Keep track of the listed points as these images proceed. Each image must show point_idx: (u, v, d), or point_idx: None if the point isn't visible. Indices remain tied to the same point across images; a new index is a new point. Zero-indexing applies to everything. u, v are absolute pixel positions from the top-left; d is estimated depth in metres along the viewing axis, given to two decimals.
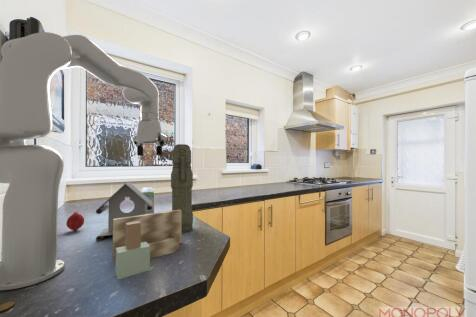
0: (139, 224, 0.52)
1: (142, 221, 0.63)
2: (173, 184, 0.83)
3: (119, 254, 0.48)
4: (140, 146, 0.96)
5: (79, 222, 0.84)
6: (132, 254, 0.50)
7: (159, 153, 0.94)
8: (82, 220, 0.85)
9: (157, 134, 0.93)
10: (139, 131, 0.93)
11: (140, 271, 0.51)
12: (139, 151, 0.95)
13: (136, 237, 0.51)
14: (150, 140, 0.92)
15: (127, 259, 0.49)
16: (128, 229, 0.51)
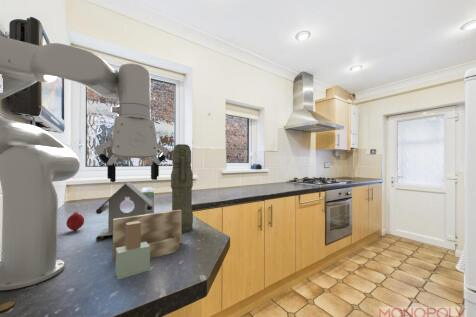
0: (139, 224, 0.52)
1: (142, 221, 0.63)
2: (173, 184, 0.83)
3: (119, 254, 0.48)
4: (113, 164, 0.50)
5: (79, 222, 0.84)
6: (132, 254, 0.50)
7: None
8: (82, 220, 0.85)
9: None
10: (122, 136, 0.50)
11: (140, 271, 0.51)
12: None
13: (136, 237, 0.51)
14: (147, 155, 0.53)
15: (127, 259, 0.49)
16: (128, 229, 0.51)
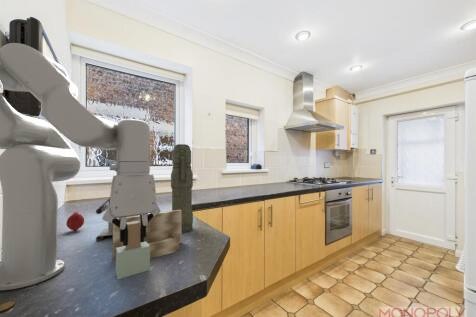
0: (139, 224, 0.52)
1: None
2: (173, 184, 0.83)
3: (119, 253, 0.48)
4: None
5: (79, 222, 0.84)
6: (132, 253, 0.50)
7: None
8: (82, 220, 0.85)
9: None
10: (120, 196, 0.48)
11: (140, 271, 0.51)
12: None
13: (136, 237, 0.51)
14: (146, 211, 0.52)
15: (127, 259, 0.49)
16: (128, 229, 0.50)
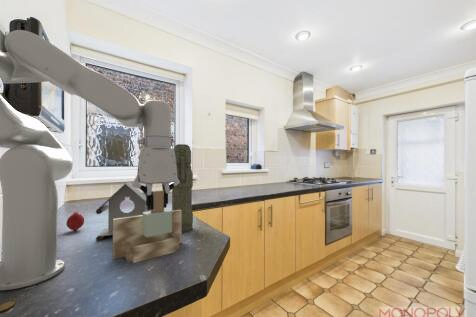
0: (163, 192, 0.60)
1: (142, 221, 0.63)
2: None
3: (146, 215, 0.56)
4: None
5: (79, 222, 0.84)
6: (157, 216, 0.58)
7: None
8: (82, 220, 0.85)
9: None
10: (147, 166, 0.56)
11: (164, 232, 0.59)
12: None
13: (160, 203, 0.59)
14: (168, 181, 0.59)
15: (153, 220, 0.57)
16: (154, 195, 0.58)
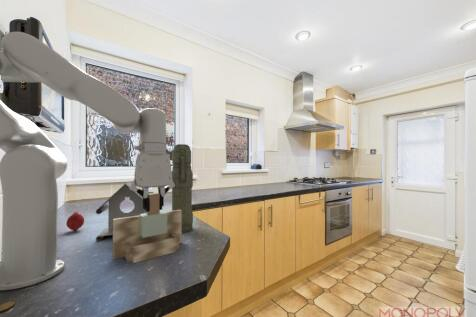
0: (158, 195, 0.63)
1: None
2: None
3: (143, 217, 0.60)
4: (147, 196, 0.62)
5: (79, 222, 0.84)
6: (153, 218, 0.61)
7: None
8: (82, 220, 0.85)
9: None
10: (144, 171, 0.60)
11: (160, 233, 0.62)
12: None
13: (156, 205, 0.63)
14: (163, 184, 0.63)
15: (150, 222, 0.61)
16: (150, 198, 0.62)
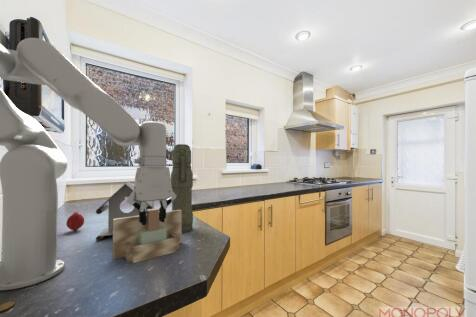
0: (158, 210, 0.63)
1: None
2: (173, 184, 0.83)
3: (142, 234, 0.59)
4: None
5: (79, 222, 0.84)
6: (152, 234, 0.61)
7: None
8: (82, 220, 0.85)
9: None
10: (143, 185, 0.59)
11: None
12: None
13: (155, 221, 0.62)
14: (163, 198, 0.63)
15: (149, 238, 0.60)
16: (149, 214, 0.61)
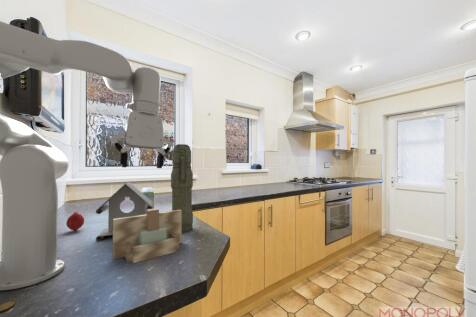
0: (158, 210, 0.63)
1: (142, 221, 0.63)
2: (173, 184, 0.83)
3: (142, 234, 0.59)
4: None
5: (79, 222, 0.84)
6: (152, 234, 0.61)
7: None
8: (82, 220, 0.85)
9: None
10: (134, 129, 0.58)
11: None
12: (126, 160, 0.58)
13: (155, 221, 0.62)
14: (154, 146, 0.61)
15: (149, 238, 0.60)
16: (149, 214, 0.61)
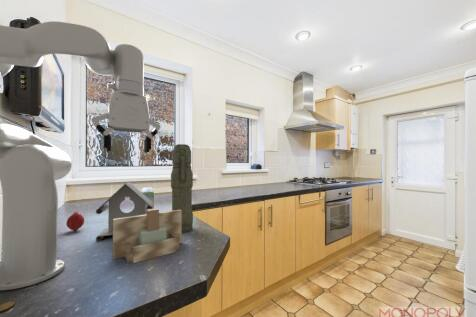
0: (158, 210, 0.63)
1: (142, 221, 0.63)
2: (173, 184, 0.83)
3: (142, 234, 0.59)
4: (109, 135, 0.56)
5: (79, 222, 0.84)
6: (152, 234, 0.61)
7: None
8: (82, 220, 0.85)
9: (149, 120, 0.61)
10: (117, 110, 0.55)
11: None
12: None
13: (155, 221, 0.62)
14: (140, 128, 0.58)
15: (149, 238, 0.60)
16: (149, 214, 0.61)
